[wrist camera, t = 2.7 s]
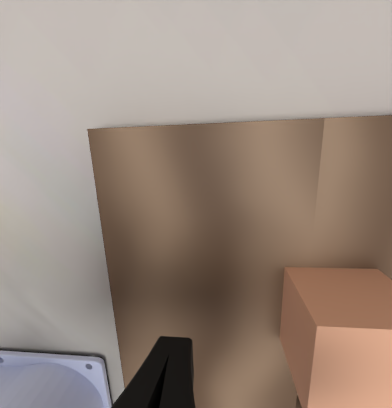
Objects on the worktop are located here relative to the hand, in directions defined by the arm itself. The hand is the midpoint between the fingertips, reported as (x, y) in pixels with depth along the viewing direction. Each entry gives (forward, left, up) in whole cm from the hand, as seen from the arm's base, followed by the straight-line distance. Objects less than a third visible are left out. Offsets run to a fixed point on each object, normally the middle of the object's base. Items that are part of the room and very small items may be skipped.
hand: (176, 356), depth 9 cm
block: (+7, 0, -4) cm, 8 cm away
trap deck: (+8, 0, -5) cm, 9 cm away
